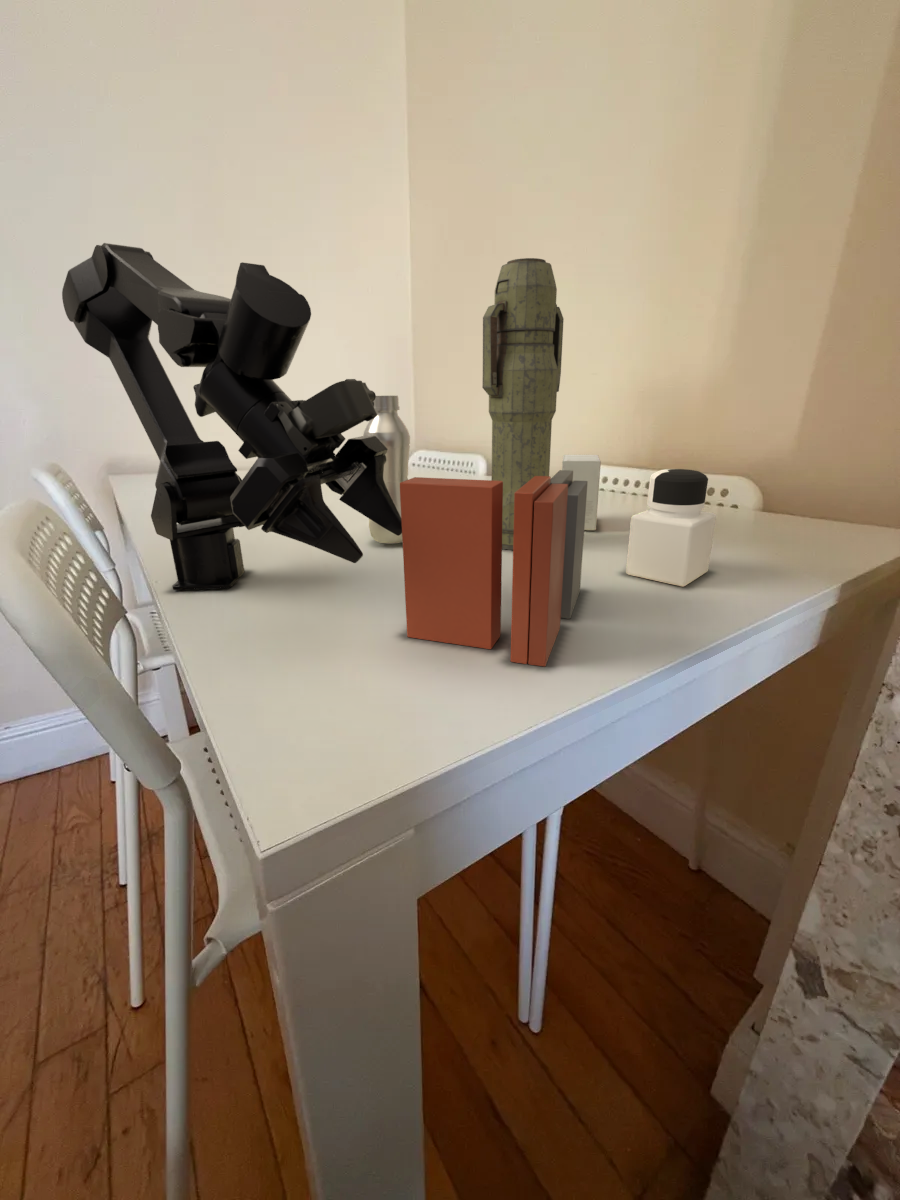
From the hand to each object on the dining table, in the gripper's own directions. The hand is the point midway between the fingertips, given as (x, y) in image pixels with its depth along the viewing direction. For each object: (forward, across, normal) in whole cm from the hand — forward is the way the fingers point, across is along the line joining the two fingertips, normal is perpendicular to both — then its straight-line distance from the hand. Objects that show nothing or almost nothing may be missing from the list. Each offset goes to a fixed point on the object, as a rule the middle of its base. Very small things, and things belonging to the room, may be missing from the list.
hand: (382, 544), depth 52 cm
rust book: (+10, -1, +1) cm, 11 cm away
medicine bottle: (+24, +23, -12) cm, 36 cm away
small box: (+15, +45, -3) cm, 47 cm away
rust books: (+16, 0, -5) cm, 16 cm away
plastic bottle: (-2, +28, +14) cm, 31 cm away
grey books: (+16, +10, -5) cm, 20 cm away
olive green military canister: (+10, +33, +2) cm, 34 cm away
